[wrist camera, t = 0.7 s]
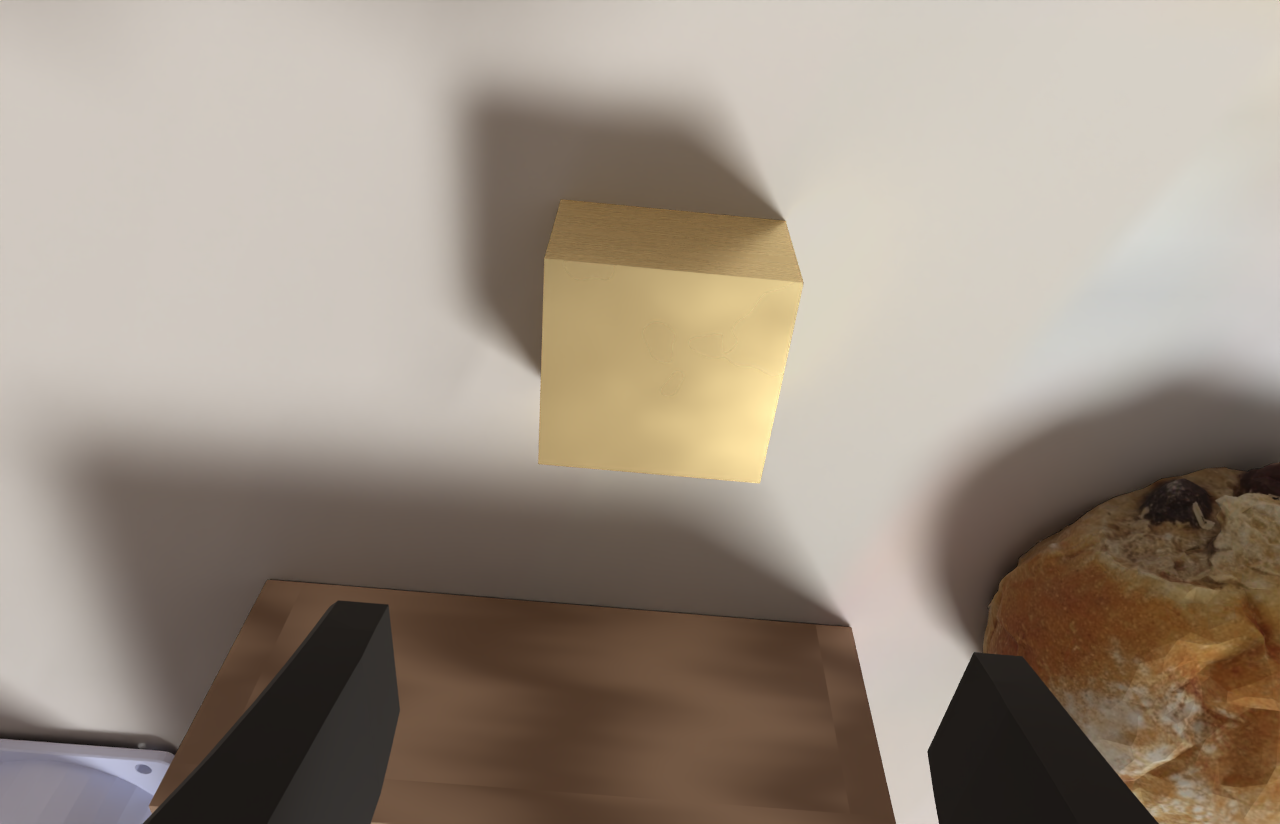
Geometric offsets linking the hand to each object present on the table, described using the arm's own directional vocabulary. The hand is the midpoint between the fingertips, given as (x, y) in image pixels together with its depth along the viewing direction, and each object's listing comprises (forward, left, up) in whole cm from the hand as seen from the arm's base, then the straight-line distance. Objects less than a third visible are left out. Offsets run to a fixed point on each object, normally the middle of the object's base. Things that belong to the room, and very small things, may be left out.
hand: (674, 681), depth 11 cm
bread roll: (+14, -7, -10) cm, 18 cm away
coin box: (-2, -17, -9) cm, 20 cm away
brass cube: (0, 0, -10) cm, 10 cm away
